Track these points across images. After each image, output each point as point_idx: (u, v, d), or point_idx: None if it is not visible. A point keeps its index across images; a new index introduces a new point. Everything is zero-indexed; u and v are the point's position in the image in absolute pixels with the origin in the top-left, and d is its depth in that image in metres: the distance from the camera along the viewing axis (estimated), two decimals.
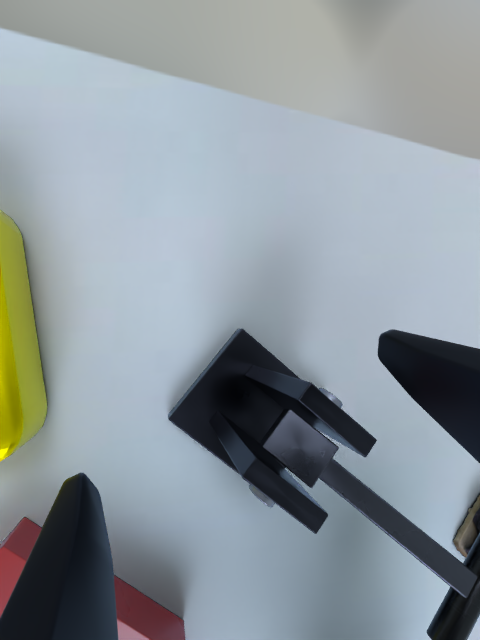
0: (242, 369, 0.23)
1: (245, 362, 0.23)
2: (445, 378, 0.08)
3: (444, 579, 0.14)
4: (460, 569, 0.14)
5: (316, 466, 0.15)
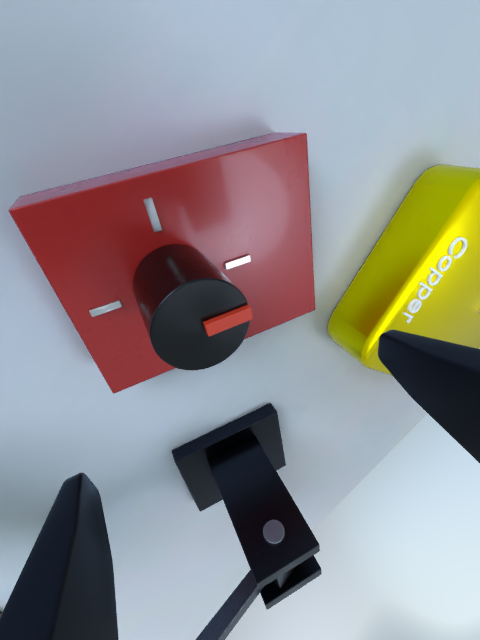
0: None
1: None
2: (445, 378, 0.08)
3: None
4: None
5: (281, 576, 0.21)
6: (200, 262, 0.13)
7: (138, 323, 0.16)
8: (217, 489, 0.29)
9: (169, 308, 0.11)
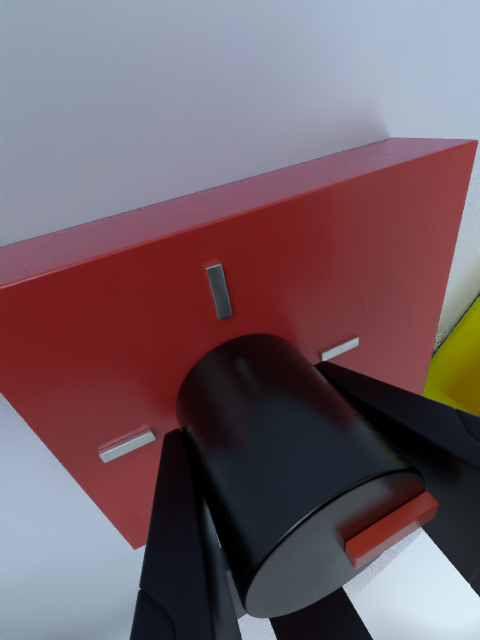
0: None
1: None
2: None
3: None
4: None
5: None
6: (322, 396, 0.07)
7: None
8: None
9: (292, 546, 0.05)
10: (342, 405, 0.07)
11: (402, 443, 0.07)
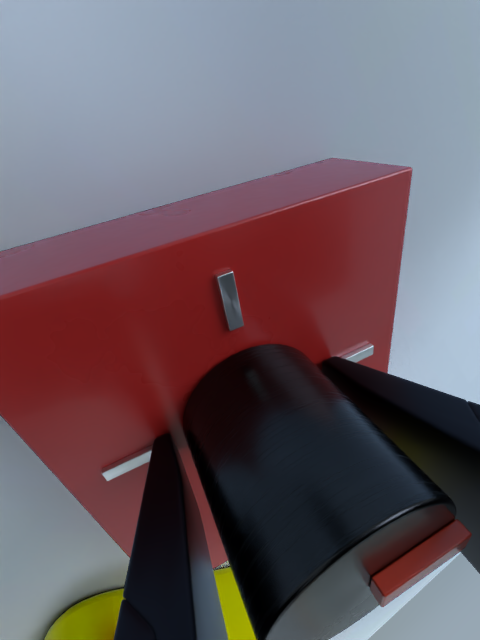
0: None
1: None
2: (380, 413, 0.08)
3: None
4: None
5: None
6: (343, 415, 0.06)
7: (179, 361, 0.07)
8: None
9: (318, 588, 0.04)
10: (365, 425, 0.06)
11: (415, 436, 0.07)
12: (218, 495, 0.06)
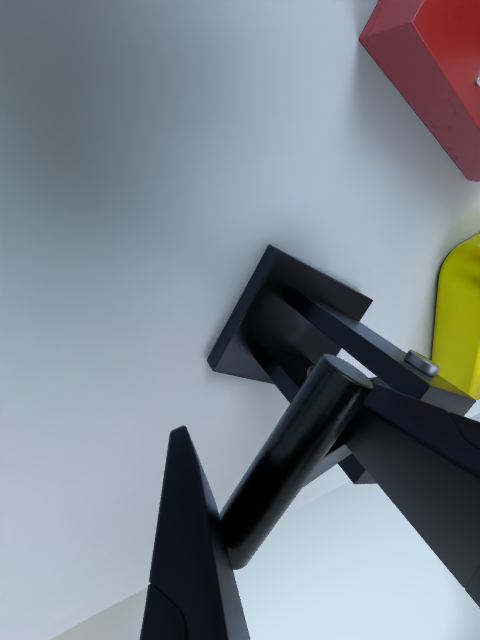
0: (311, 363, 0.23)
1: None
2: (362, 422, 0.08)
3: (331, 450, 0.08)
4: (312, 478, 0.08)
5: None
6: None
7: None
8: (255, 352, 0.20)
9: None
10: None
11: (396, 446, 0.07)
12: None
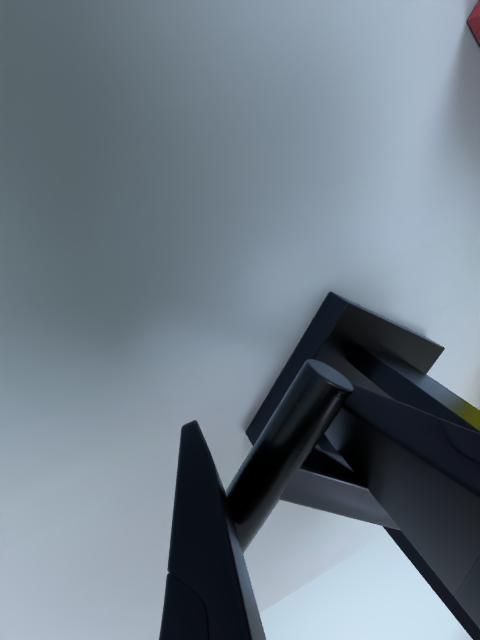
0: None
1: None
2: (352, 428, 0.07)
3: (333, 477, 0.08)
4: (307, 499, 0.08)
5: None
6: None
7: None
8: None
9: None
10: None
11: (385, 453, 0.07)
12: None
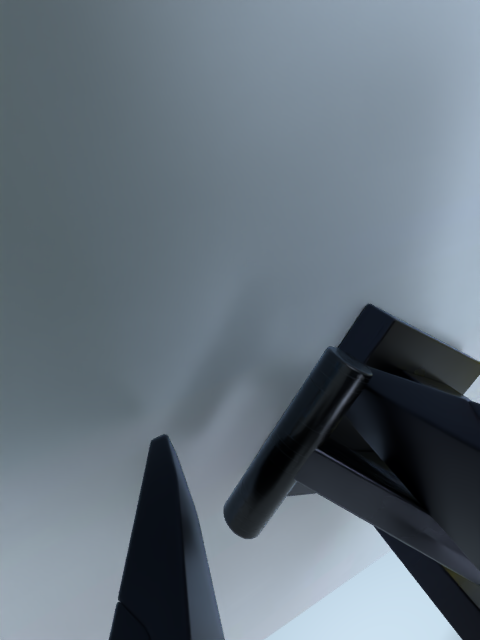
0: None
1: None
2: (380, 413, 0.08)
3: (351, 469, 0.08)
4: (323, 487, 0.08)
5: None
6: None
7: None
8: None
9: None
10: None
11: (416, 435, 0.07)
12: None
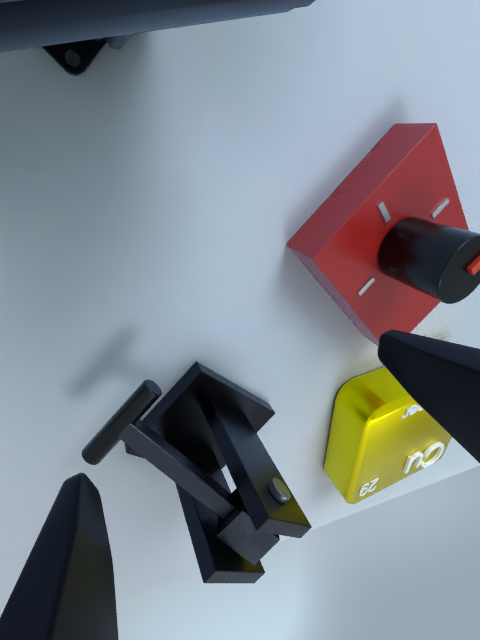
0: (215, 455, 0.27)
1: None
2: (445, 378, 0.08)
3: (144, 435, 0.18)
4: (130, 441, 0.18)
5: (237, 525, 0.18)
6: (441, 228, 0.18)
7: (372, 241, 0.20)
8: None
9: (448, 270, 0.17)
10: (450, 228, 0.18)
11: None
12: (408, 271, 0.19)
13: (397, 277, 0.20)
